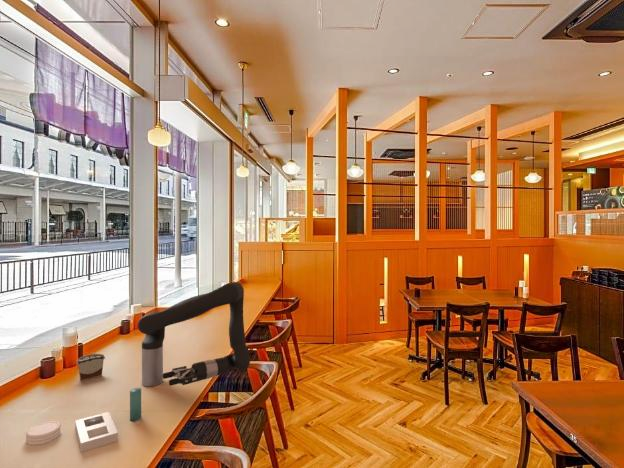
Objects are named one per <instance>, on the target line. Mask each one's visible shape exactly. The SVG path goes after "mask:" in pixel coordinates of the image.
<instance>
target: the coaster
mask: <svg viewBox="0 0 624 468" xmlns="http://www.w3.org/2000/svg"><path fill="white" fill-rule="evenodd" d="M60 423H61V422H60ZM60 423H59V422H58V421H54V420H53V421H45V422H41V423H38V424H35V425H33V426H32V427H31V428H29V429H28V430H26V433H25V436H26V437H25V439H26V440H25V442H26V444H27V445H30V446H40V445H44V444H47V443H51V442H53V441H54V440H56V439H57V438H58V437H60V435H61V433H62V432H61V424H60Z"/></svg>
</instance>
